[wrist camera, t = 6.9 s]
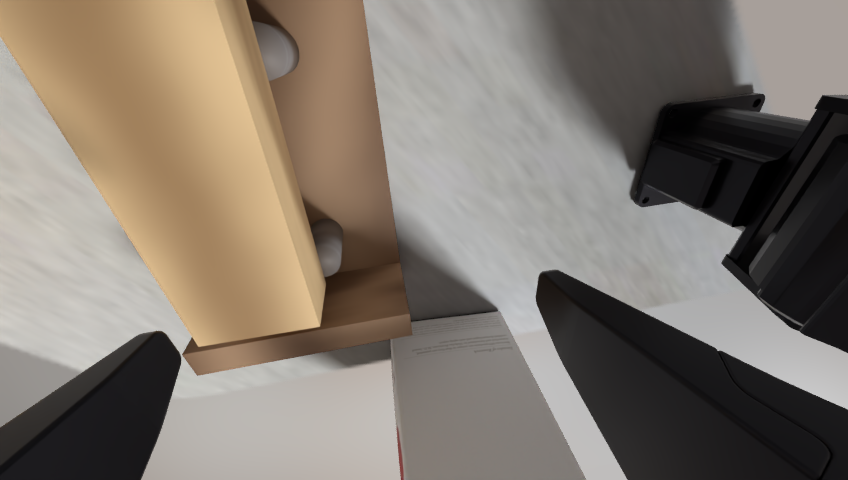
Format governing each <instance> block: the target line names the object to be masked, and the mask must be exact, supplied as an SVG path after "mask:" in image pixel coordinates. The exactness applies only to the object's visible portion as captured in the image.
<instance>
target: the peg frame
mask: <svg viewBox="0 0 848 480" xmlns="http://www.w3.org/2000/svg"><path fill="white" fill-rule="evenodd" d="M246 3H247V6H248V10H249V13H250V17H251V20H252V24H253V27H254V31H255V35H256V38H257V42H258V45H259V49H260V52H261V56H262V59H263V63H264V66H265V70H266V73H267V77H268V80H269V84H270V88H271V91H272V95H273V98H274V102H275V105H276V109H277V112H278V116H279V119H280V123H281V126H282V130H283V133H284V137H285V141H286V144H287V148H288V151H289V155H290V158H291V162H292V165H293V169H294V172H295V176H296V179H297V183H298V186H299V190H300V194H301V197H302V201H303V204H304V208H305V211H306V215H307V218H308V222H309V225H310V229H311V232H312V236H313V239H314V243H315V247H316V250H317V254H318V257H319V261H320V264H321V268H322V271H323V275H324V278H325V282H326V288H325V295H324V302H323V309H322V317H321V324H320V327H315V328H309V329H303V330H297V331H291V332H285V333H279V334H273V335H267V336H261V337H255V338H249V339H243V340H237V341H231V342H225V343H219V344H213V345H207V346H201V347H198V345H197V344H196V342H195V341H194V339H193V338H191V340H190V342H189V344H188V345H187V347H186V349H185V351H184V352H183V354H182V355H183V357H184V358H185V359H186V361H187V362H188V364H189V365H190V366H191V368H192V369H193V370H194V372H195V373H196V375H197V376H198V375H203V374H209V373H214V372H219V371H225V370H230V369H235V368H241V367H246V366H251V365H257V364H262V363H267V362H272V361H278V360H283V359H288V358H294V357H299V356H304V355H310V354H315V353H320V352H326V351H331V350H336V349H342V348H347V347H352V346H358V345H363V344H368V343H374V342H379V341H384V340H390V339H395V338H400V337H406V336H411V335H413V334H412V326H411V319H410V312H409V307H408V302H407V296H406V291H405V286H404V280H403V275H402V270H401V265H400V258H399V251H398V244H397V237H396V230H395V223H394V216H393V209H392V202H391V195H390V188H389V181H388V174H387V167H386V160H385V153H384V146H383V139H382V132H381V124H380V117H379V110H378V103H377V96H376V89H375V82H374V75H373V68H372V61H371V54H370V47H369V40H368V33H367V26H366V19H365V12H364V5H363V0H246Z"/></svg>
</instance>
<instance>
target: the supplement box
mask: <svg viewBox="0 0 848 480" xmlns="http://www.w3.org/2000/svg"><path fill="white" fill-rule="evenodd" d="M411 326H412V334H413V335H411V336H406V337H400V338H395V339H390V342H391V361H392V378H393V392H394V406H395V418H396V430H397V441H398V453H399V464H400V474H401V480H586V478H585V476H584V474H583V472H582V470H581V469H580V467H579V465H578V463H577V461H576V459H575V457H574V455H573V453H572V451H571V449H570V447H569V445H568V443H567V441H566V439H565V437H564V435H563V433H562V432H561V429H560V427H559V426H558V423H557V422H556V420H555V418H554V416H553V414H552V412H551V410H550V408H549V406H548V404H547V402H546V400H545V398H544V396H543V394H542V392H541V390H540V388H539V386H538V384H537V383H536V381H535V379H534V377H533V375H532V373H531V371H530V369H529V367H528V365H527V363H526V361H525V359H524V357H523V355H522V353H521V351H520V349H519V347H518V345H517V344H516V342H515V340H514V338H513V336H512V334H511V332H510V330H509V328H508V326H507V324H506V322H505V320H504V318H503V316H502V314H501V312H500V311H498V312H490V313H482V314H473V315H465V316H456V317H448V318H439V319H430V320H423V321H415V322H411Z"/></svg>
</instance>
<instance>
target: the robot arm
mask: <svg viewBox="0 0 848 480" xmlns="http://www.w3.org/2000/svg"><path fill="white" fill-rule="evenodd" d="M764 101H765V96H764V94H758V93H750V94H741V95H733V96H725V97H717V98H708V99H700V100H692V101H683V102H675V103H669V104H667V105H666V106H664V107H663V109H662V110H661V112H660V115H659V118H658V122H657V125H656V128H655V132H654V135H653V139H652V142H651V145H650V149H649V152H648V155H647V159H646V162H645V165H644V169H643V172H642V176H641V179H640V182H639V186H638V189H637V192H636V196H635V199H634V202H635V204H637V205H639V206H640V207H647V206H654V205H660V204H666V203H673V202H681V203H683V204H685V205H687V206H689V207H691V208H693V209H696V210H699V211H701V212H703V213H705V214H707V215H709V216H711V217H713V218H715V219H717V220H719V221H721V222H723V223H725V224H727V225H729V226H731V227H735V228H737V229H739V230H741V231H743V232H742V233H741V235H740V237H739V238H738V240H737V242H736V243H735V245H734V246H733V248H732V250H731V251H730V253H729V254H726V256H725V257H724V259H723V261H722V262H721V263H722V265H723V266H724V267H725V268H727V269H728V270H729V271H730V272H731V273H732V274H733V275H734V276H735V277H736V278H737V279H738V280H739V281H740V282H741V283H742V284H743V285H744V286H745V287H747V288H748V289H749V290H750V291H751V292H752V293H753V294H754V295H755V296H756V297H757V298H758V299H759V300H760V301H761V302H762V303H763V304H765V305H766V306H767V307H768V308H769V309H770V310H771V311H772V312H773V313H774V314H775V315H776V316H778V317H779V318H780V319H781V320H782V321H784V322H785V323H786V324H787V325H788V326H789V327H791V328H793V329H795V330H798V331H800V332H801V333H802V334H804V335H806V336H808V337H811V338H813V339H816V340H818V341H821V342H824V343H826V344H828V345H831V346H833V347H836V348H839V349H841V350H842V351H844V352H847V353H848V95H822V97H821V98H820V100H819V102H818V103H817V105H816V107H815V109H817V110H816V112H815V113H814V115H813V117H812V118H811V120H810V121H808V120H802V119H797V118H790V117H784V116H779V115H773V114H767V113H761V112H760V110H761V108H762V106H763V103H764ZM671 111H672V112H671ZM670 112H671V114H670ZM669 114H670V115H669ZM536 302H537V306H538V308H539V311H540V313H541V315H542V318H543V320H544V322H545V325H546V327H547V329H548V332H549V334H550V336H551V339H552V341H553V343H554V346H555V348H556V351H557V353H558V355H559V357H560V359H561V361H562V363H563V365H564V367H565V369H566V370H567V372H568V374H569V376H570V377H571V379H572V381H573V383H574V385H575V386H576V388H577V390H578V392H579V394H580V395H581V397H582V399H583V401H584V403H585V404H586V406H587V408H588V409H589V411H590V413H591V415H592V417H593V419H594V420H595V422H596V424H597V426H598V428H599V429H600V431H601V433H602V434H603V437H604V438H605V440H606V442H607V444H608V445H609V447H610V449H611V451H612V452H613V454H614V456H615V458H616V460H617V462H618V463H619V465H620V467H621V469H622V471H623V472H624V474H625V476H626V478H627V479H628V480H848V410H847V409H845V408H843V407H840V406H838V405H836V404H834V403H831V402H829V401H827V400H824V399H822V398H820V397H818V396H816V395H813V394H811V393H809V392H807V391H804V390H802V389H800V388H798V387H796V386H793V385H791V384H789V383H787V382H784V381H782V380H780V379H778V378H776V377H774V376H772V375H770V374H768V373H766V372H763V371H761V370H759V369H757V368H755V367H753V366H751V365H749V364H747V363H744V362H743V361H741V360H739V359H737V358H735V357H732V356H730V355H728V354H727V353H725V352H723V351H717V349H716V348H714V347H712V346H710V345H708V344H706V343H704V342H702V341H700V340H698V339H696V338H694V337H692V336H690V335H688V334H686V333H684V332H682V331H680V330H678V329H676V328H674V327H672V326H670V325H668V324H666V323H664V322H662V321H660V320H658V319H656V318H654V317H651V316H650V315H648V314H645V313H644V312H642V311H640V310H638V309H636V308H633V307H631V306H629V305H627V304H625V303H623V302H621V301H619V300H617V299H615V298H613V297H611V296H609V295H607V294H605V293H603V292H601V291H599V290H597V289H595V288H593V287H591V286H589V285H587V284H585V283H583V282H581V281H579V280H577V279H575V278H573V277H571V276H569V275H567V274H565V273H563V272H561V271H559V270H549V271H543V272H541V273H540V275H539V278H538V285H537V292H536ZM180 366H181V356H180V353H179V351H178V350H177V349H176V347H175V346H174V344H173V343H172V342H171V340H170V339H169V337H168V336H167V335H166V334H165V333H164V332H162V331H154V332H148V333H143V334H140V335H138V336H136V337H134V338H133V339H131V340H130V341H128V342H127V343H126V344H124V345H123V346H121V347H120V348H118V349H117V350H115V351H114V352H112V353H111V354H109V355H108V356H106V357H105V358H103V359H102V360H100V361H99V362H97V363H96V364H94V365H93V366H91V367H90V368H88V369H87V370H85V371H84V372H82V373H81V374H79V375H78V376H76V377H75V378H74V379H72V380H70V381H69V382H67V383H66V384H64V385H63V386H61V387H60V388H58V389H57V390H55V391H54V392H52V393H51V394H50V395H48V396H47V397H45V398H44V399H42V400H41V401H39V402H38V403H36V404H35V405H33V406H32V407H30V408H29V409H27V410H26V411H24V412H23V413H21V414H20V415H18V416H17V417H15V418H14V419H12V420H11V421H9V422H8V423H6V424H5V425H3V426H2V427H0V480H141V478H142V476H143V474H144V471H145V469H146V466H147V464H148V461H149V459H150V456H151V454H152V451H153V449H154V447H155V444H156V442H157V439H158V436H159V434H160V431H161V428H162V425H163V422H164V419H165V416H166V412H167V409H168V406H169V402H170V399H171V396H172V392H173V389H174V386H175V382H176V379H177V376H178V372H179V369H180Z"/></svg>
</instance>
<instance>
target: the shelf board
mask: <svg viewBox="0 0 848 480" xmlns="http://www.w3.org/2000/svg"><path fill="white" fill-rule="evenodd" d="M0 37H1V38H2V40H3V41H4V43H5V45H6V46H7V48H8V49H9V51H10V52H11V54H12V56H13V57H14V59H15V60H16V62H17V63H18V65H19V66H20V68H21V70H22V71H23V73H24V74H25V76H26V77H27V79H28V81H29V82H30V84H31V85H32V87H33V88H34V90H35V92H36V93H37V95H38V96H39V98H40V99H41V101H42V103H43V104H44V106H45V107H46V109H47V110H48V112H49V113H50V115H51V117H52V118H53V120H54V121H55V123H56V124H57V126H58V128H59V129H60V131H61V132H62V134H63V135H64V137H65V139H66V140H67V142H68V143H69V145H70V146H71V148H72V150H73V151H74V153H75V154H76V156H77V157H78V159H79V160H80V162H81V164H82V165H83V167H84V168H85V170H86V171H87V173H88V175H89V176H90V178H91V179H92V181H93V182H94V184H95V186H96V187H97V189H98V190H99V192H100V193H101V195H102V197H103V198H104V200H105V201H106V203H107V204H108V206H109V207H110V209H111V211H112V212H113V214H114V215H115V217H116V218H117V220H118V222H119V223H120V225H121V226H122V228H123V229H124V231H125V233H126V234H127V236H128V237H129V239H130V240H131V242H132V244H133V245H134V247H135V248H136V250H137V251H138V253H139V254H140V256H141V258H142V259H143V261H144V262H145V264H146V265H147V267H148V269H149V270H150V272H151V273H152V275H153V276H154V278H155V280H156V281H157V283H158V284H159V286H160V287H161V289H162V291H163V292H164V294H165V295H166V297H167V298H168V300H169V301H170V303H171V305H172V306H173V308H174V309H175V311H176V312H177V314H178V316H179V317H180V319H181V320H182V322H183V323H184V325H185V327H186V328H187V330H188V331H189V333H190V334H191V336H192V338H193V339H194V341H195V342H196V344H197V345H198V347H201V346H207V345H213V344H219V343H225V342H231V341H237V340H243V339H249V338H255V337H261V336H267V335H273V334H279V333H285V332H291V331H297V330H303V329H309V328H315V327H320V324H321V317H322V309H323V302H324V295H325V288H326V282H325V278H324V275H323V271H322V268H321V264H320V261H319V257H318V254H317V250H316V247H315V243H314V239H313V236H312V232H311V229H310V225H309V222H308V218H307V215H306V211H305V208H304V204H303V201H302V197H301V194H300V190H299V186H298V183H297V179H296V176H295V172H294V169H293V165H292V162H291V158H290V155H289V151H288V148H287V144H286V141H285V137H284V133H283V130H282V126H281V123H280V119H279V116H278V112H277V109H276V105H275V102H274V98H273V95H272V91H271V88H270V84H269V80H268V77H267V73H266V70H265V66H264V63H263V59H262V56H261V52H260V49H259V45H258V42H257V38H256V35H255V31H254V27H253V24H252V20H251V17H250V13H249V10H248V6H247V3H246V0H0Z"/></svg>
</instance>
